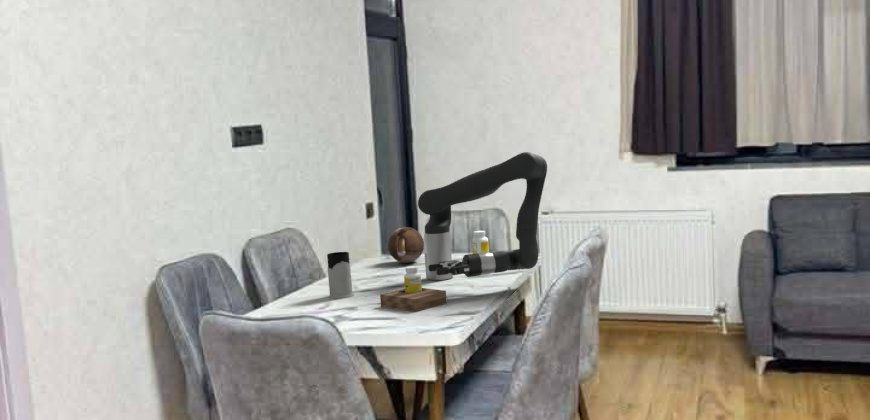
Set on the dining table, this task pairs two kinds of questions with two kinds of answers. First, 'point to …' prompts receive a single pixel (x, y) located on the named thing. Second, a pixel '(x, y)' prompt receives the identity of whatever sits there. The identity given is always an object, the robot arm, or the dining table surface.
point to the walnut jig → (413, 299)
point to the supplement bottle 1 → (412, 280)
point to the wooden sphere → (405, 245)
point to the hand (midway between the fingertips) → (432, 270)
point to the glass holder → (339, 275)
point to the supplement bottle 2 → (480, 242)
